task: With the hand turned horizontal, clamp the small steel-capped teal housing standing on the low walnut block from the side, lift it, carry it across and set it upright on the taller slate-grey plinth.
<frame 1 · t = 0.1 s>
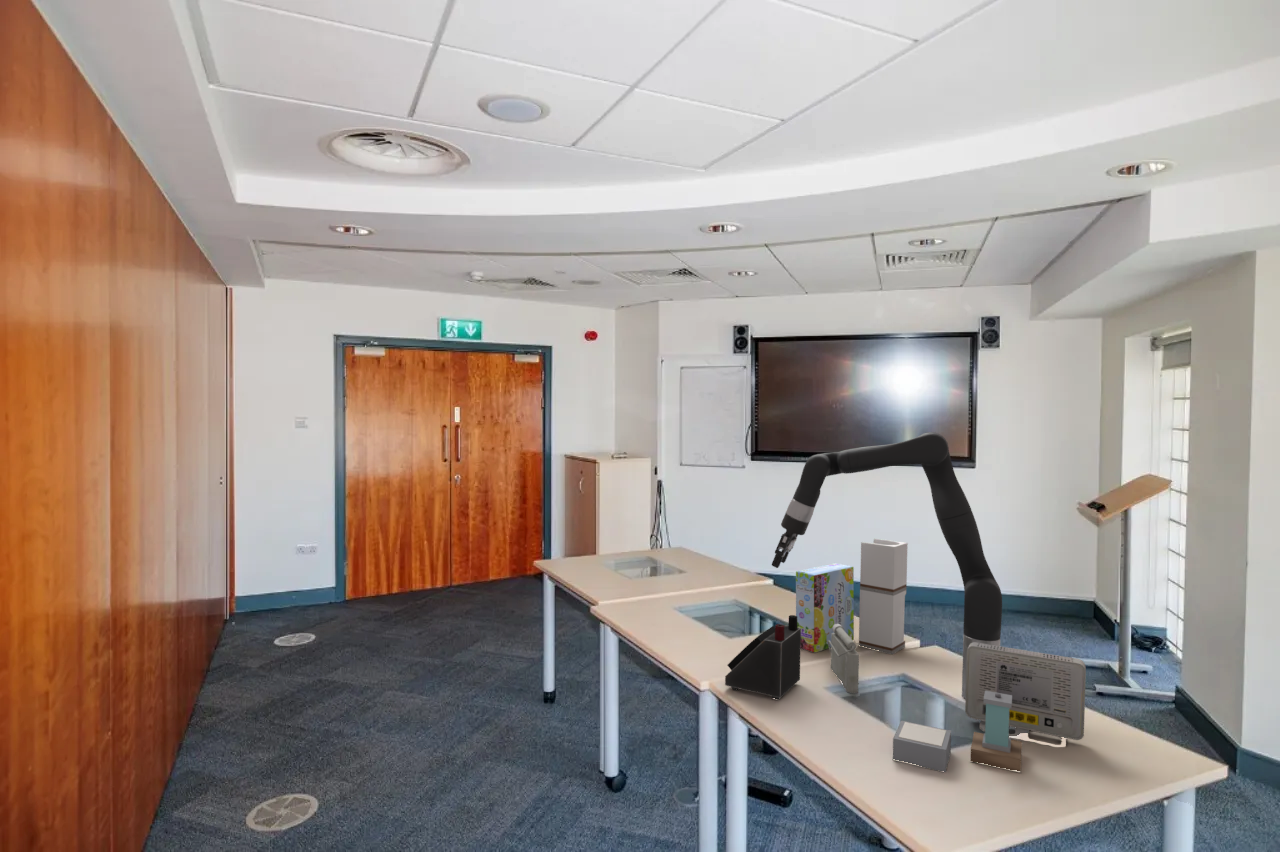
hand: (778, 564, 222), 31 cm above the table, tool tilted 20°, fingers open, 8 cm apart
tall open-top box: (881, 647, 243), on the table
walnut block: (996, 758, 165), on the table
grey plinth: (922, 756, 165), on the table
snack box: (824, 644, 245), on the table
housing: (996, 745, 165), point 3 cm above the table, touching walnut block
voltmeter: (762, 687, 206), on the table
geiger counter: (839, 677, 215), on the table
network device: (1022, 734, 178), on the table
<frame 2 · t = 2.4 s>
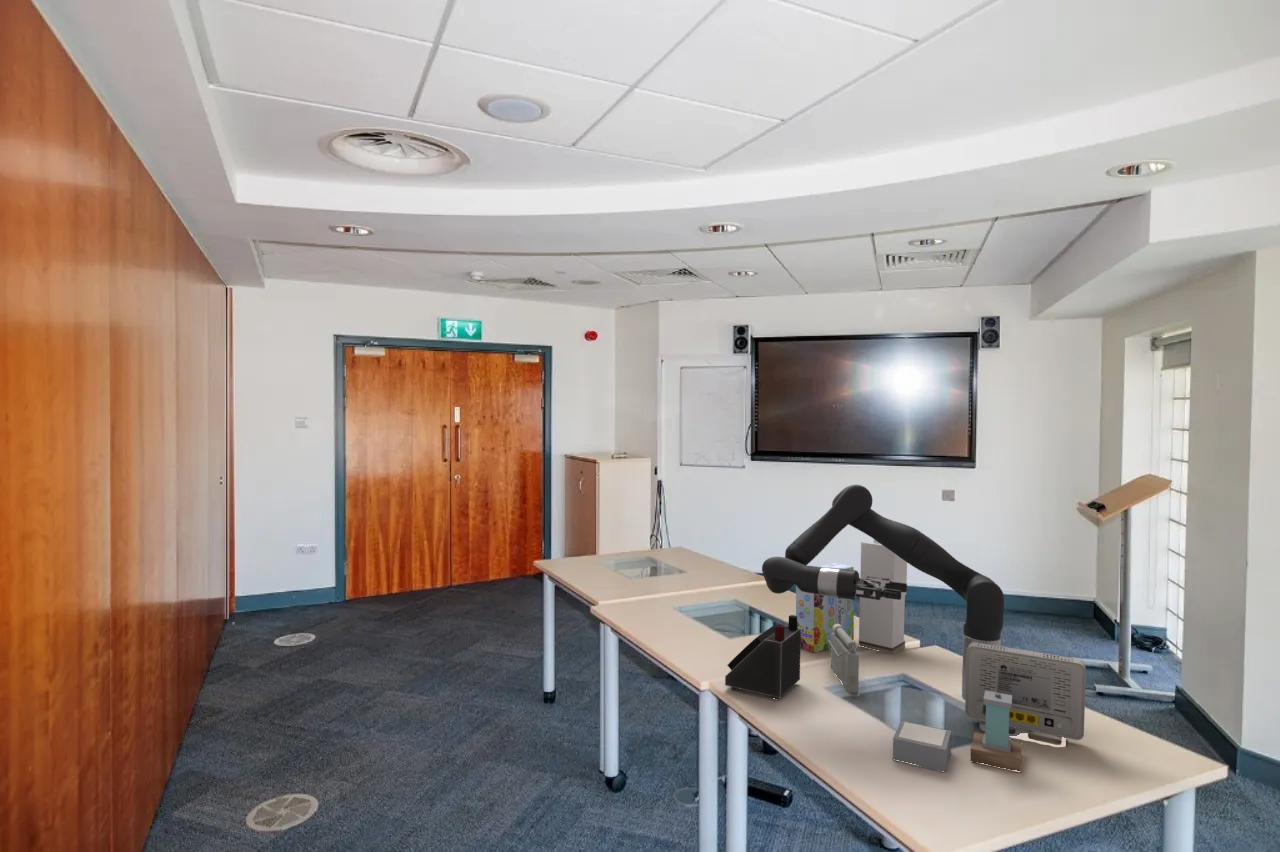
hand: (904, 591, 181), 34 cm above the table, tool horizontal, fingers open, 8 cm apart
nothing on the table moved.
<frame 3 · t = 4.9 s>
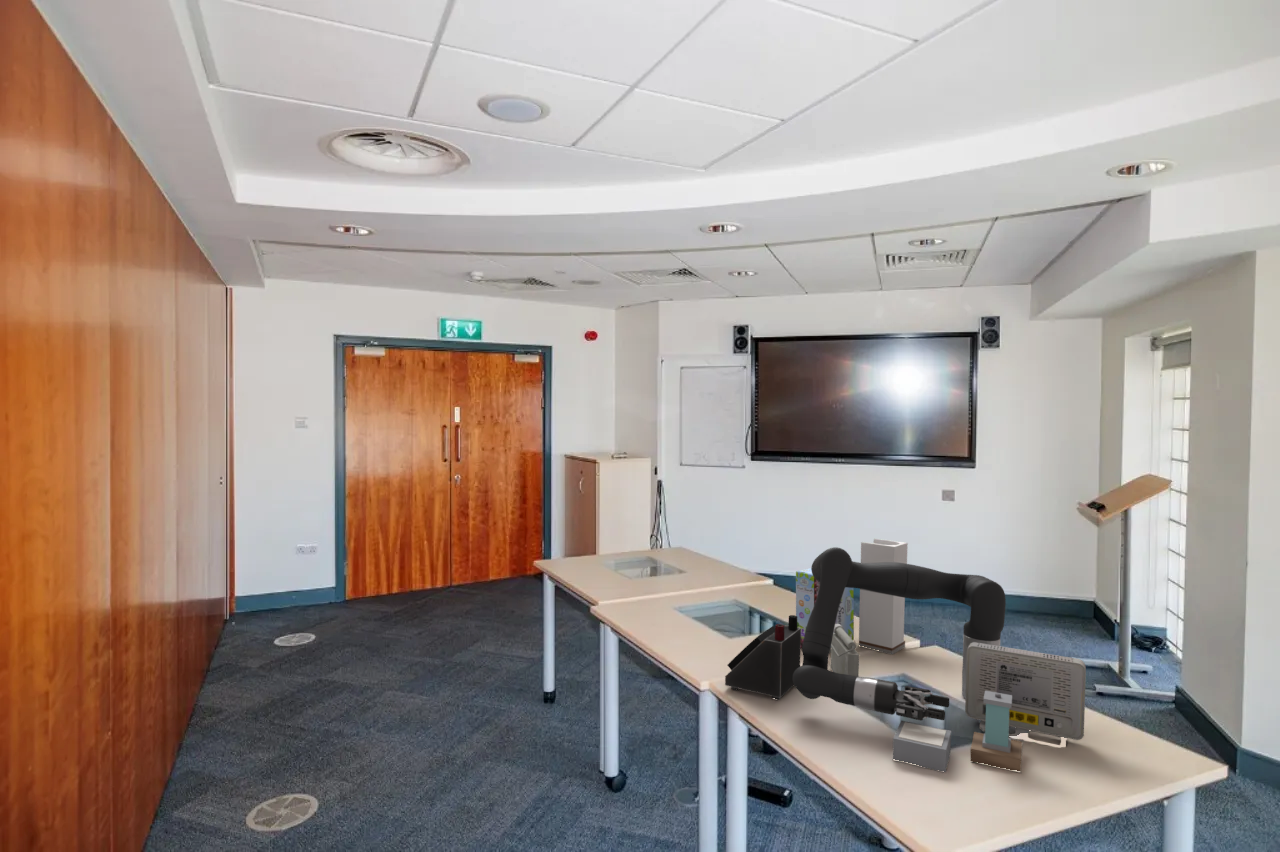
hand: (947, 708, 170), 9 cm above the table, tool horizontal, fingers open, 8 cm apart
nothing on the table moved.
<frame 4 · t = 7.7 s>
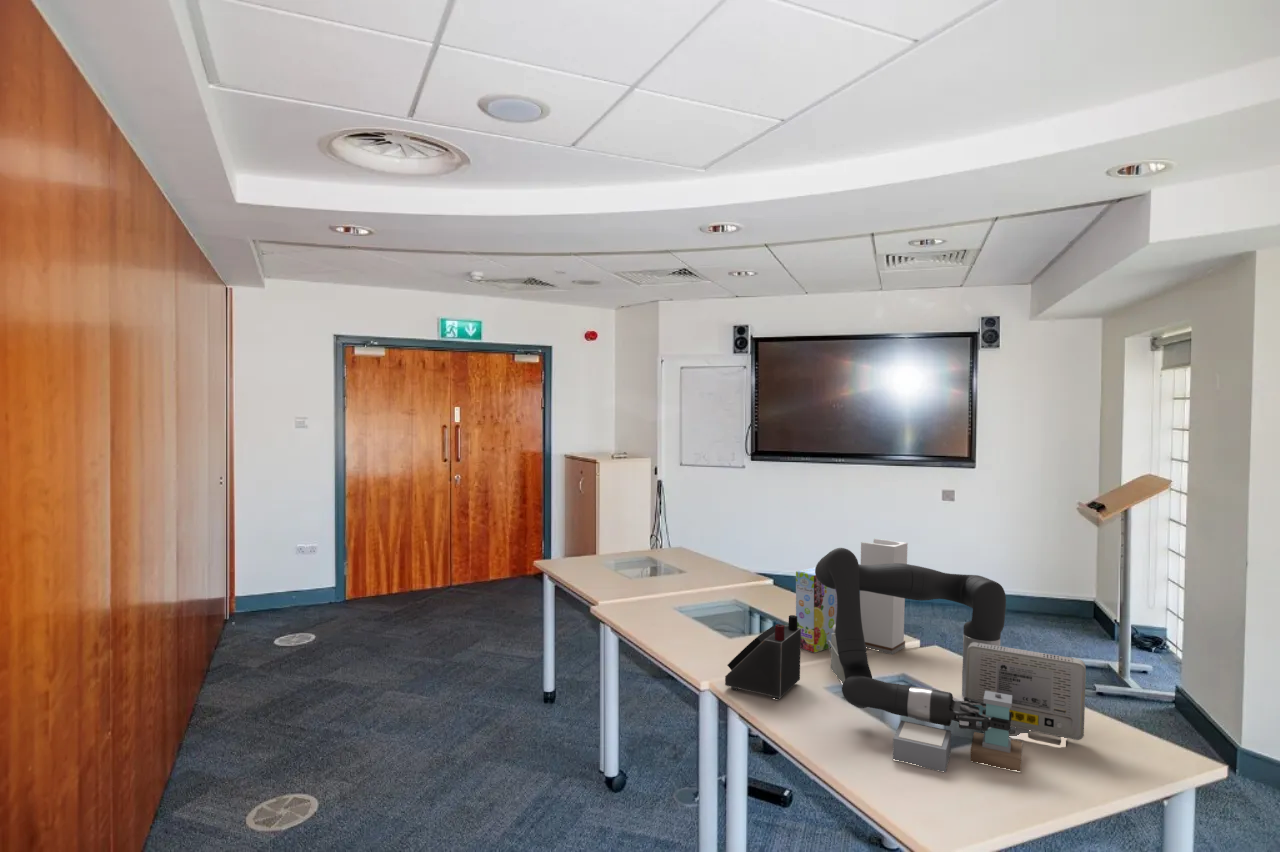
hand: (1010, 721, 164), 9 cm above the table, tool horizontal, fingers closed on housing, 4 cm apart
housing: (996, 745, 165), point 3 cm above the table, touching gripper, walnut block
everything else where it was.
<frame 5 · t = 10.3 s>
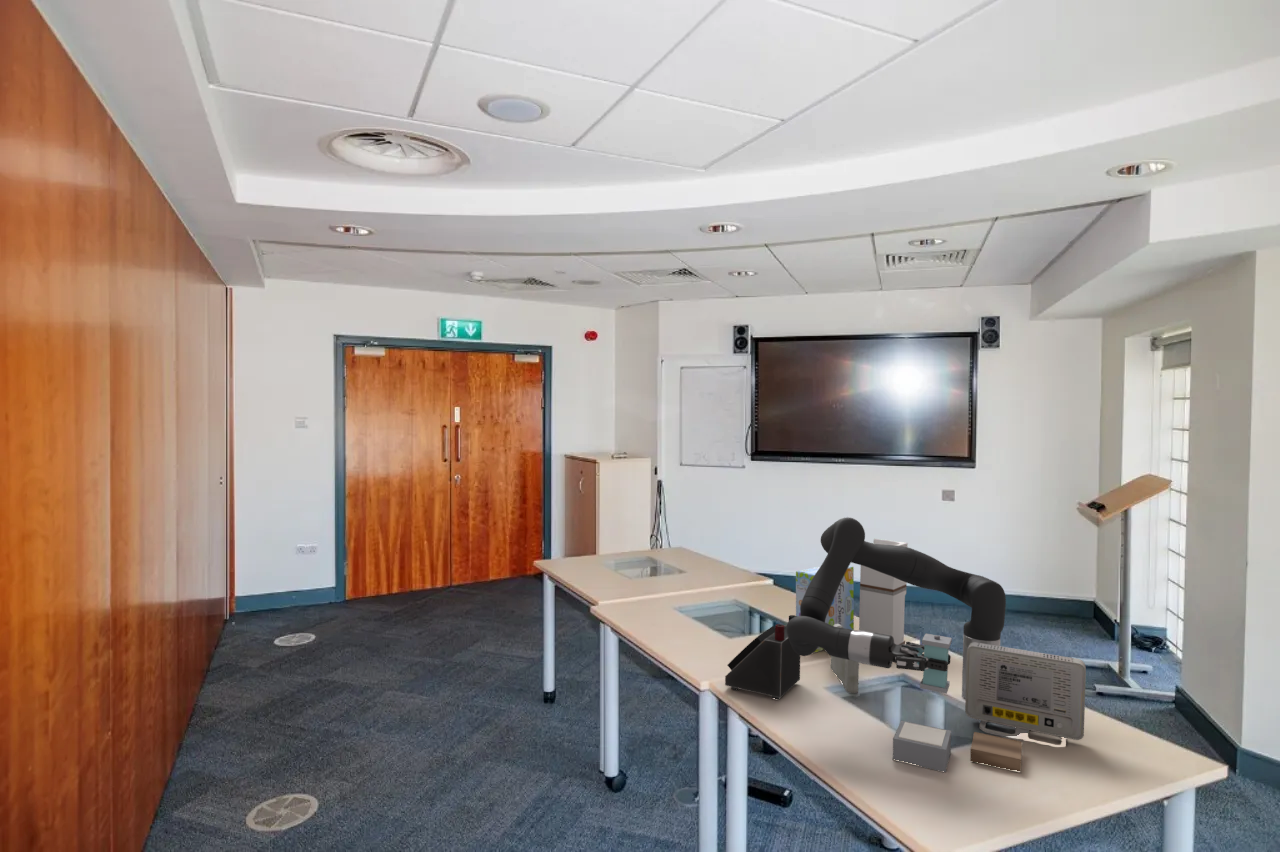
hand: (948, 663, 164), 22 cm above the table, tool horizontal, fingers closed on housing, 4 cm apart
housing: (934, 686, 165), point 16 cm above the table, touching gripper
everything else where it was.
when the fingers open (12 cm above the table, at t = 12.8 s): housing stays where it is, resting on grey plinth.
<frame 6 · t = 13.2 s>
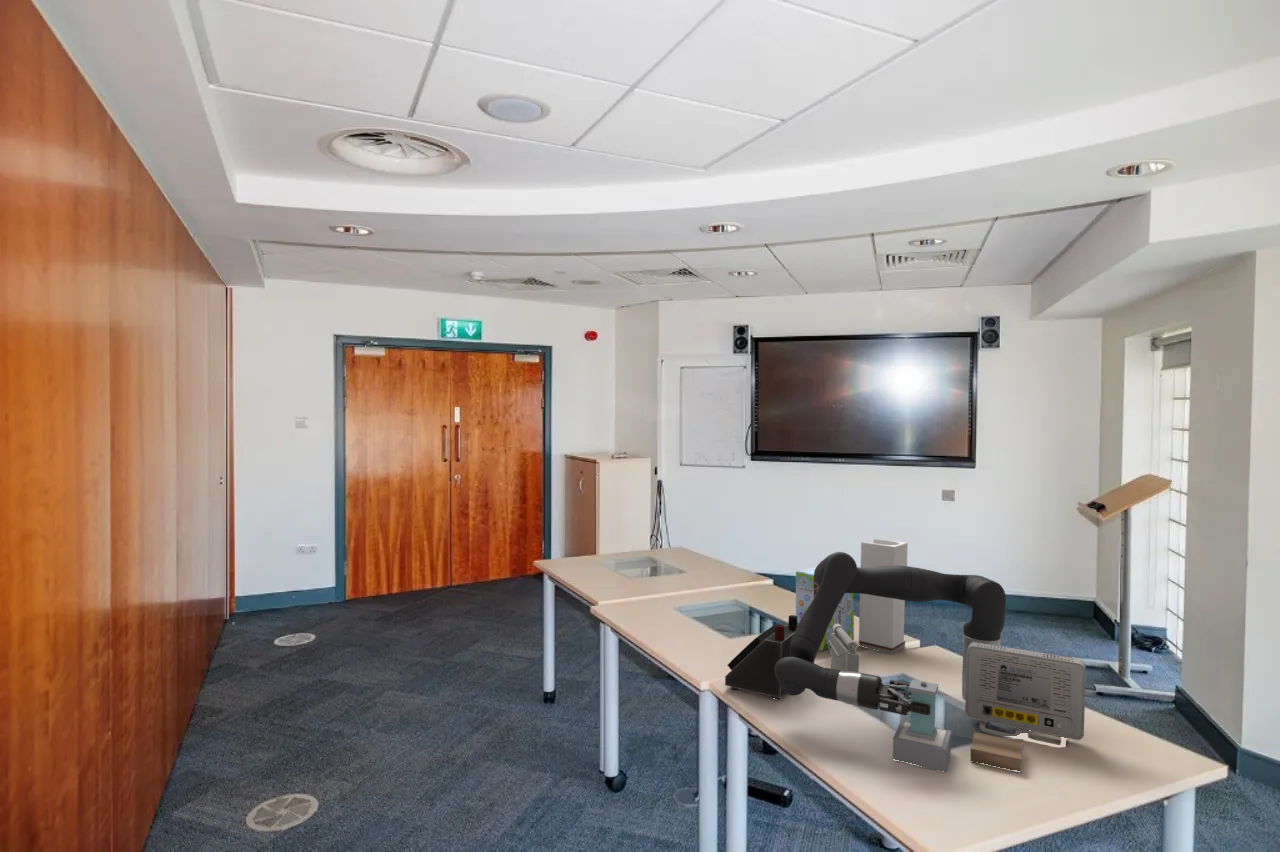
hand: (932, 703, 164), 12 cm above the table, tool horizontal, fingers open, 8 cm apart
housing: (922, 733, 165), point 5 cm above the table, touching grey plinth
everything else where it was.
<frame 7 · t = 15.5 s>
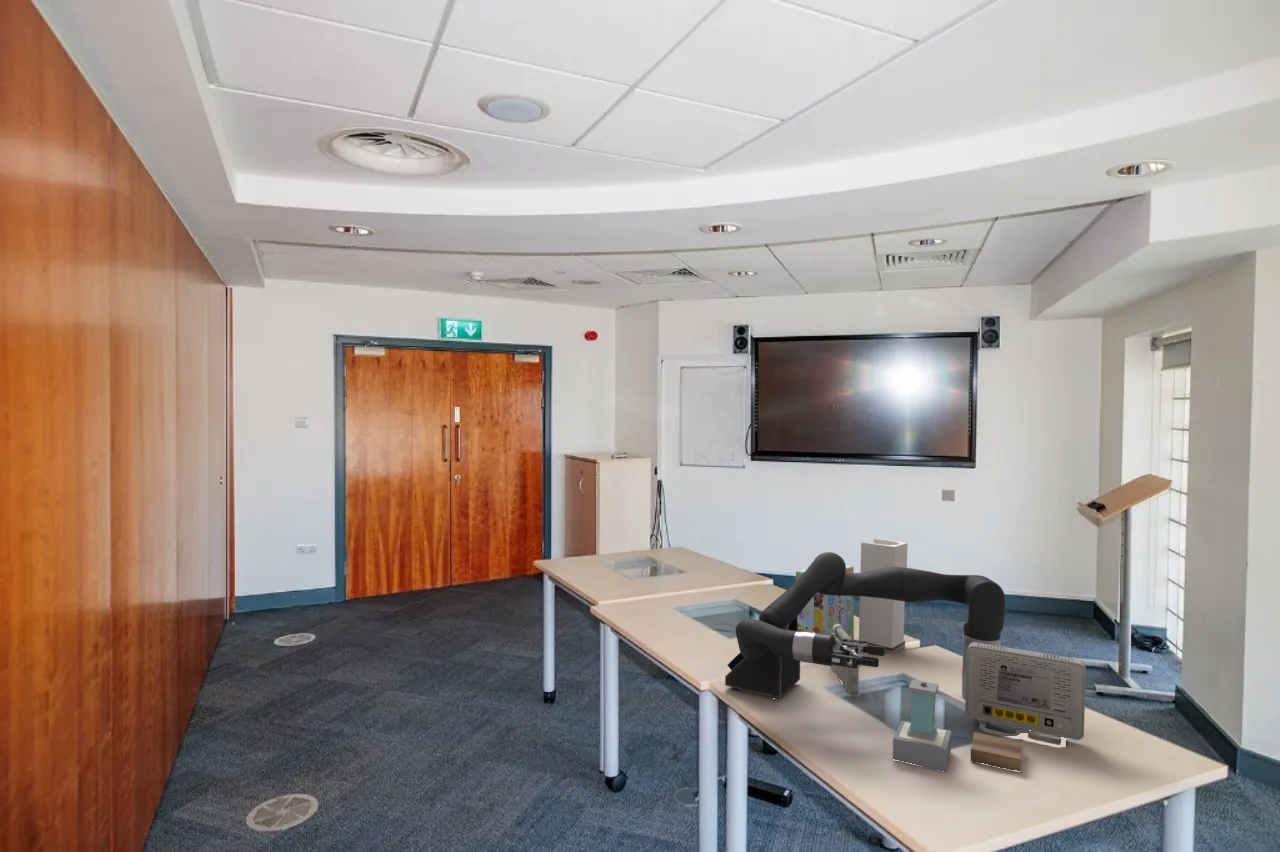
hand: (881, 657, 174), 20 cm above the table, tool horizontal, fingers open, 8 cm apart
nothing on the table moved.
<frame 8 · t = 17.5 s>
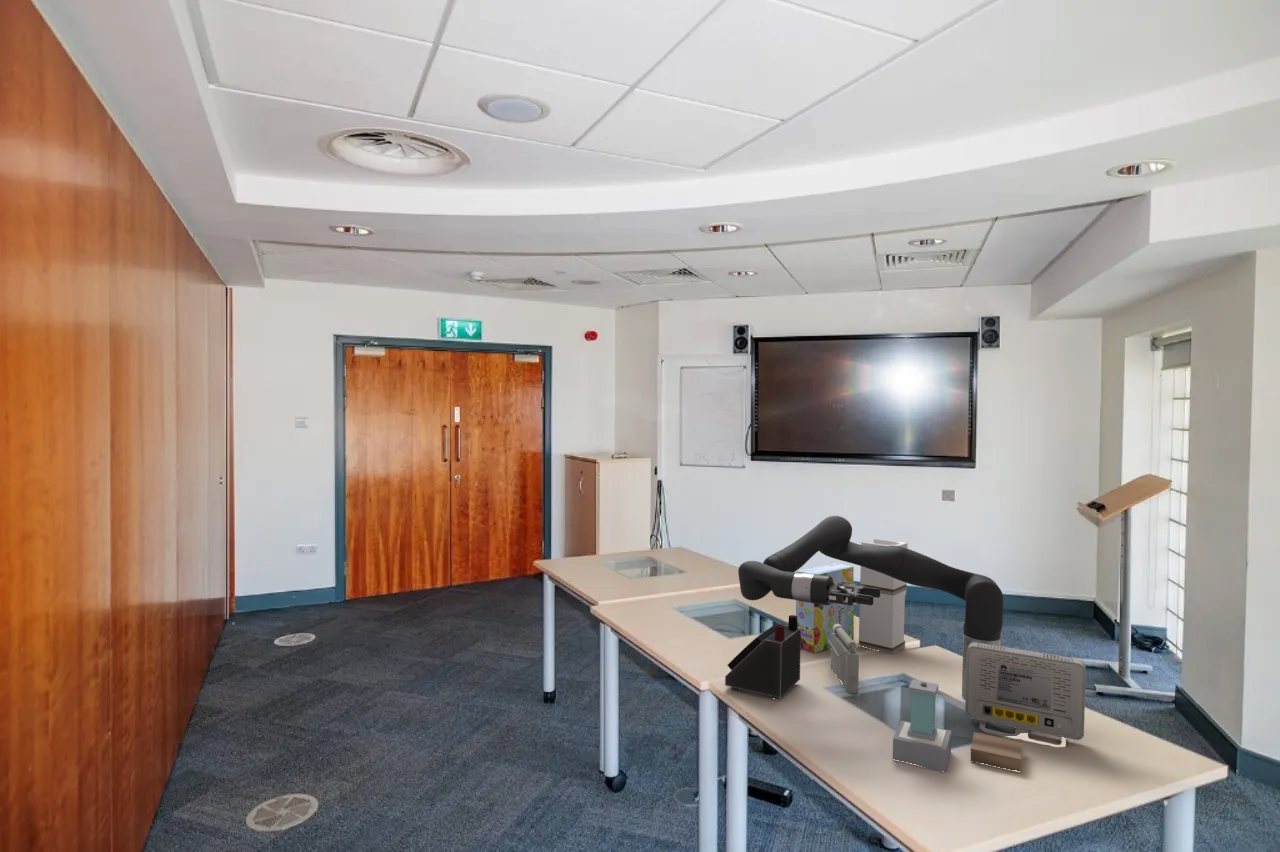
hand: (876, 597, 182), 32 cm above the table, tool horizontal, fingers open, 8 cm apart
nothing on the table moved.
at the end: housing inside the target area on the grey plinth (0.0 cm from its centre), point 5.2 cm above the grey plinth's base; housing tilted 0°; the gripper is holding nothing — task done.
